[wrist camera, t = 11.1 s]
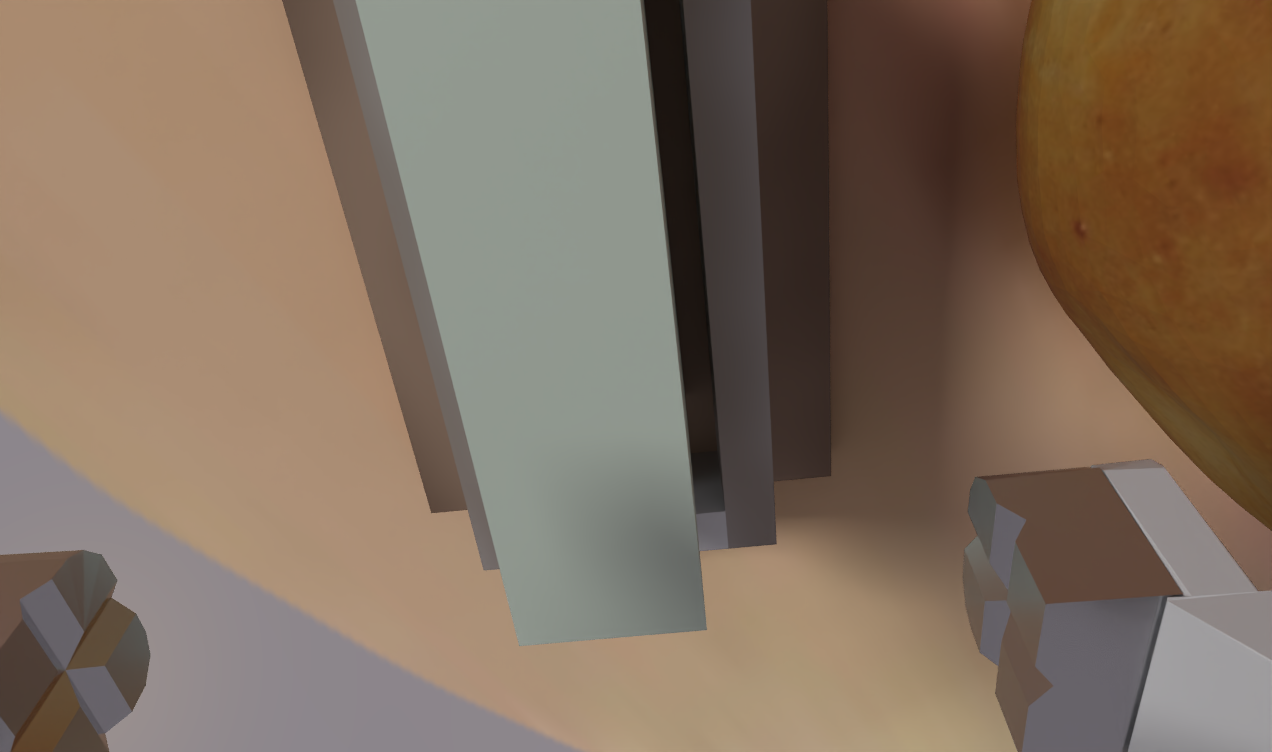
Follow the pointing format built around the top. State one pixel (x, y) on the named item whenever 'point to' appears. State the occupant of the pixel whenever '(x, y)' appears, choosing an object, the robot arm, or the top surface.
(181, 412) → the top surface
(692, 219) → the grey rectangular tray
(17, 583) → the robot arm
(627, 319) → the pale green rectangular block
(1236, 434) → the bread
